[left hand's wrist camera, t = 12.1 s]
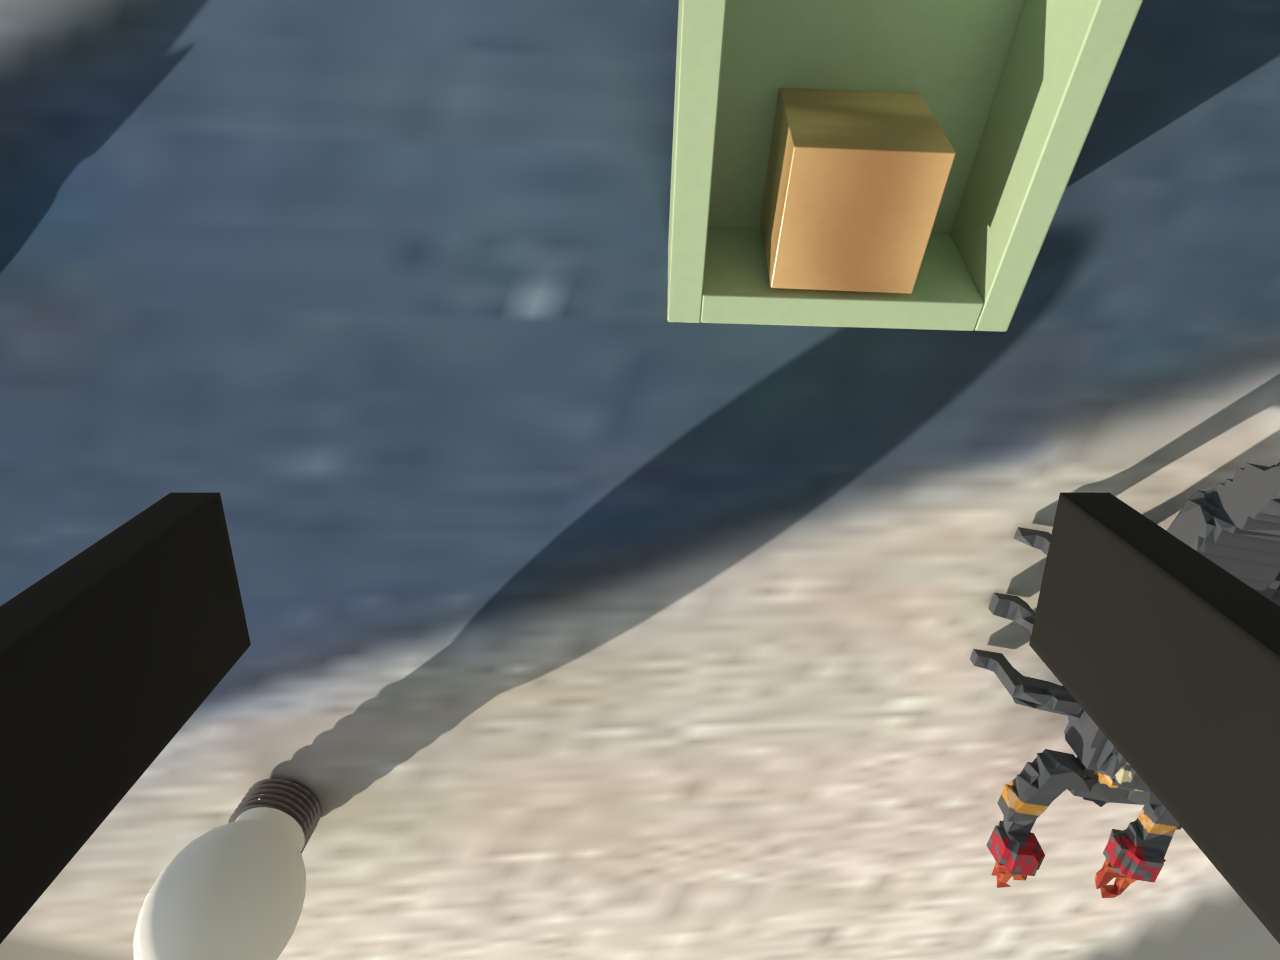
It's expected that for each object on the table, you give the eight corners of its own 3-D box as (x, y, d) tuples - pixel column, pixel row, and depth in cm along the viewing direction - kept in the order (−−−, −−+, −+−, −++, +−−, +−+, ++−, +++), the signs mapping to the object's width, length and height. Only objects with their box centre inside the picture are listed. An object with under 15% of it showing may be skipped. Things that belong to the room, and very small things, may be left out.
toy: (1386, 389, 34) (2114, 590, 17) (1147, 857, 43) (1465, 1294, 26) (1087, 336, 34) (1529, 489, 17) (910, 821, 43) (1076, 1241, 26)
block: (759, 220, 31) (770, 288, 28) (778, 87, 28) (793, 146, 24) (885, 225, 31) (912, 294, 28) (921, 92, 28) (956, 152, 24)
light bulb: (204, 810, 44) (64, 1001, 34) (264, 733, 42) (135, 911, 32) (308, 871, 45) (205, 1072, 35) (371, 799, 43) (281, 990, 33)
